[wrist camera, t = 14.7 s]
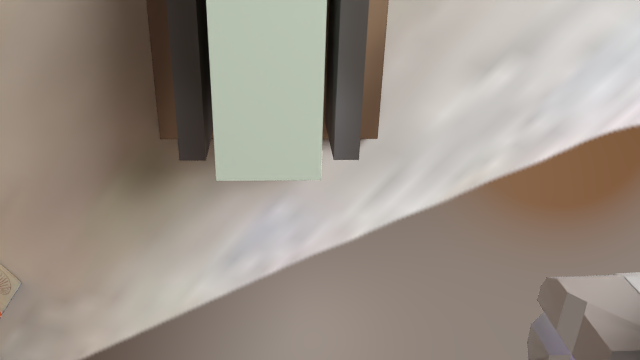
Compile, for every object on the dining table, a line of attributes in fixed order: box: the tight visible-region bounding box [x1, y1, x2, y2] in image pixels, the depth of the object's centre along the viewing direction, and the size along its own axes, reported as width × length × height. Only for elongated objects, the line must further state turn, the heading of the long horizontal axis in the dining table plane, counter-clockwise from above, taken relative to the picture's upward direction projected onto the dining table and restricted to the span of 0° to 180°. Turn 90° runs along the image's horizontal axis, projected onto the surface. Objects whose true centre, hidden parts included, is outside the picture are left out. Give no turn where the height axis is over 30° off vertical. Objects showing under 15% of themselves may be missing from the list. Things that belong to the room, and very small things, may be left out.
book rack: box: [146, 0, 389, 160], centre depth 28 cm, size 12×14×6 cm
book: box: [206, 0, 327, 181], centre depth 25 cm, size 4×9×10 cm, turn 178°
